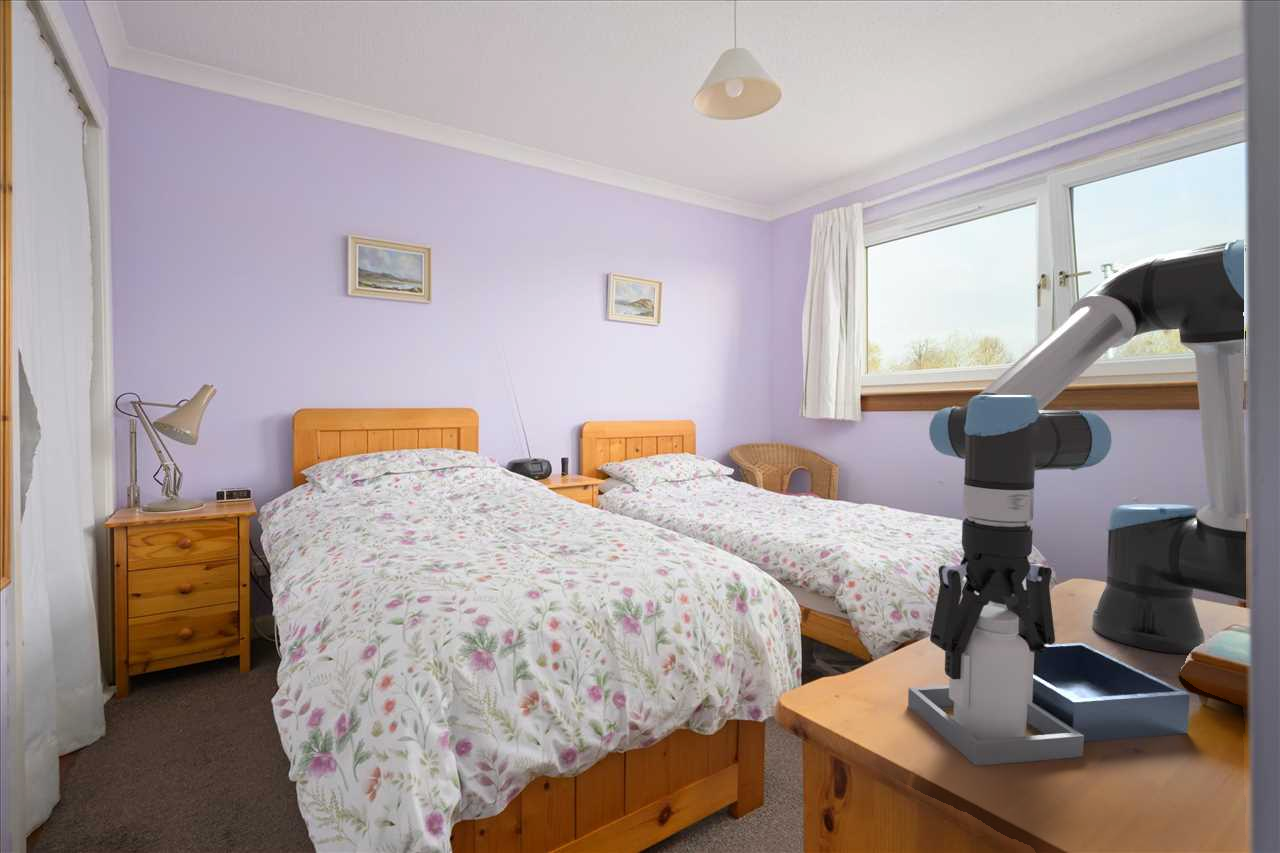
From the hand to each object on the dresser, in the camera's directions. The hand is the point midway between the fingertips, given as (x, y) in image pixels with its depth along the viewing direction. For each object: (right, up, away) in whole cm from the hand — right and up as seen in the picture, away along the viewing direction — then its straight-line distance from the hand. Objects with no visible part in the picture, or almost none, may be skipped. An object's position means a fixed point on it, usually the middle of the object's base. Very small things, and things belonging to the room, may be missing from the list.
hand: (990, 700), depth 78 cm
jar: (+15, -3, +23) cm, 27 cm away
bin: (+15, -3, +6) cm, 17 cm away
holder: (0, -4, 0) cm, 4 cm away
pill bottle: (0, -4, 0) cm, 4 cm away
